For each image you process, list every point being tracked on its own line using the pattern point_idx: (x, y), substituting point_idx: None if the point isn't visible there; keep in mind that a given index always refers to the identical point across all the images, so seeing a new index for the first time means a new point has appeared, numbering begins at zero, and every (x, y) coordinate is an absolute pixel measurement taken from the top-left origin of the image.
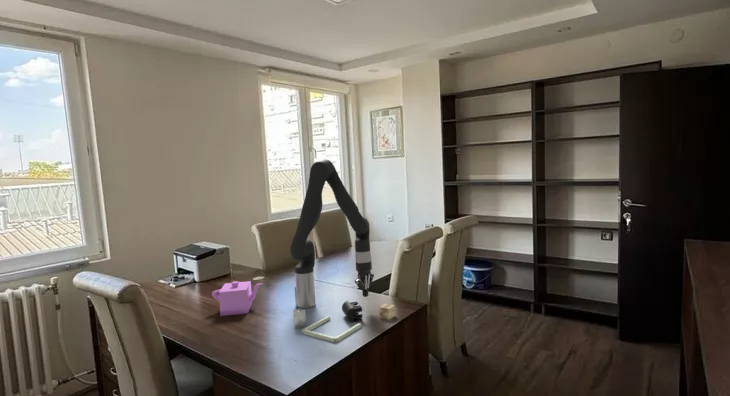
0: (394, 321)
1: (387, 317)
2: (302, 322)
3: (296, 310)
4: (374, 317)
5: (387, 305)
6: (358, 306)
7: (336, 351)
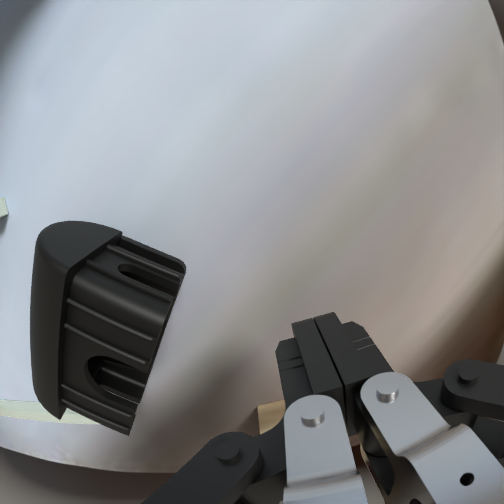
0: None
1: None
2: None
3: None
4: (237, 388)
5: None
6: (113, 414)
7: (2, 429)
